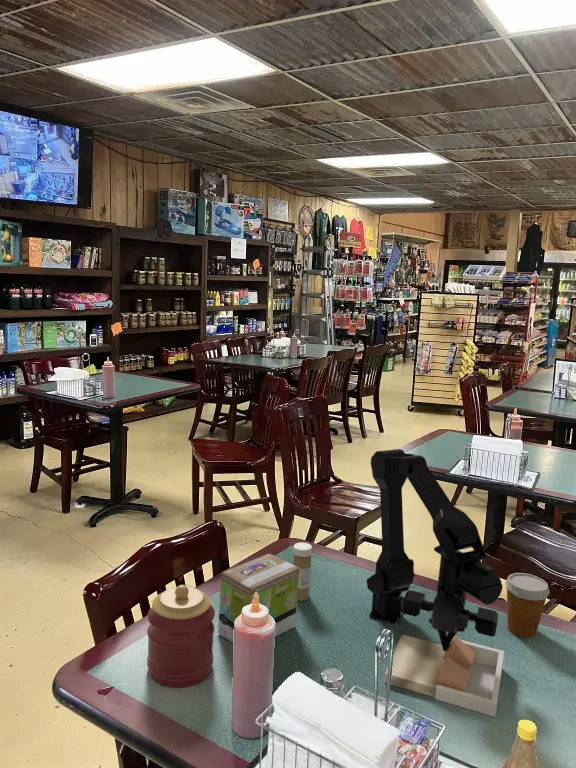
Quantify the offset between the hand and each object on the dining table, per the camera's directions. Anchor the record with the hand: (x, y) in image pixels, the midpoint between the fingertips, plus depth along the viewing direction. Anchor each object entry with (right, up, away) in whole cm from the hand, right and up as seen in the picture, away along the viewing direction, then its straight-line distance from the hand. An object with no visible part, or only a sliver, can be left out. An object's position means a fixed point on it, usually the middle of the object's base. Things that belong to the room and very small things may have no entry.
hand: (445, 650), depth 131 cm
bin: (+4, -4, -5) cm, 8 cm away
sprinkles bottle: (-29, +2, +25) cm, 39 cm away
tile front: (-1, -3, -7) cm, 8 cm away
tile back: (+2, -2, 0) cm, 3 cm away
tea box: (-39, 0, +10) cm, 40 cm away
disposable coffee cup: (+21, -2, +15) cm, 26 cm away
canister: (-54, -2, -5) cm, 54 cm away
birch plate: (-6, -3, -1) cm, 7 cm away
